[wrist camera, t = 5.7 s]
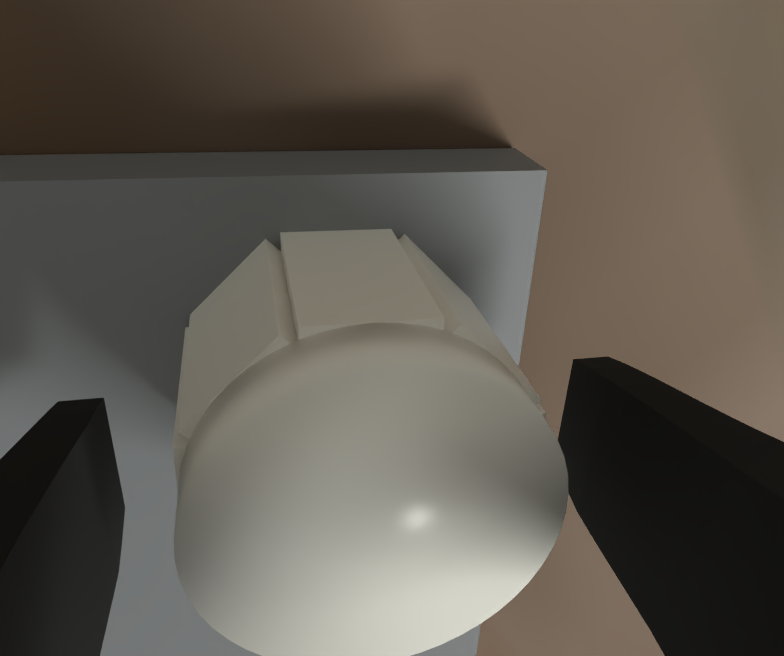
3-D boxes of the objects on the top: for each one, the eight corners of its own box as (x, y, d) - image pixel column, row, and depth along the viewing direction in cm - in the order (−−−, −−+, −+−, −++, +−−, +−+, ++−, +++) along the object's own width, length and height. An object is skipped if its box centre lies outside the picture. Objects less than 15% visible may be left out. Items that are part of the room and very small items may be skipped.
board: (-73, 709, 16) (-163, 939, 12) (-325, 159, 10) (-662, 285, 6) (456, 624, 19) (514, 794, 15) (514, 148, 13) (638, 230, 9)
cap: (203, 486, 13) (194, 693, 9) (174, 235, 10) (148, 383, 7) (457, 459, 14) (538, 637, 10) (483, 225, 12) (600, 349, 8)
